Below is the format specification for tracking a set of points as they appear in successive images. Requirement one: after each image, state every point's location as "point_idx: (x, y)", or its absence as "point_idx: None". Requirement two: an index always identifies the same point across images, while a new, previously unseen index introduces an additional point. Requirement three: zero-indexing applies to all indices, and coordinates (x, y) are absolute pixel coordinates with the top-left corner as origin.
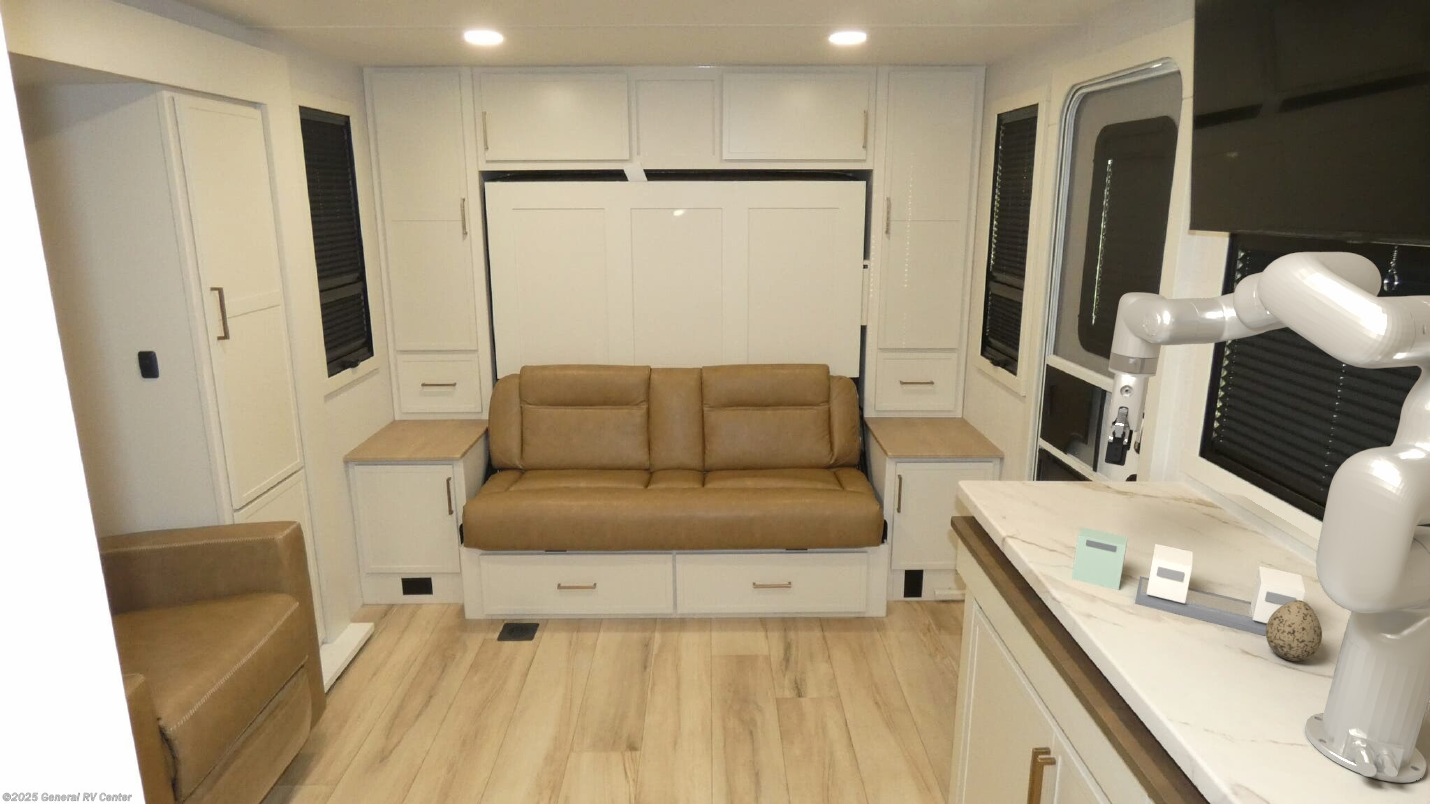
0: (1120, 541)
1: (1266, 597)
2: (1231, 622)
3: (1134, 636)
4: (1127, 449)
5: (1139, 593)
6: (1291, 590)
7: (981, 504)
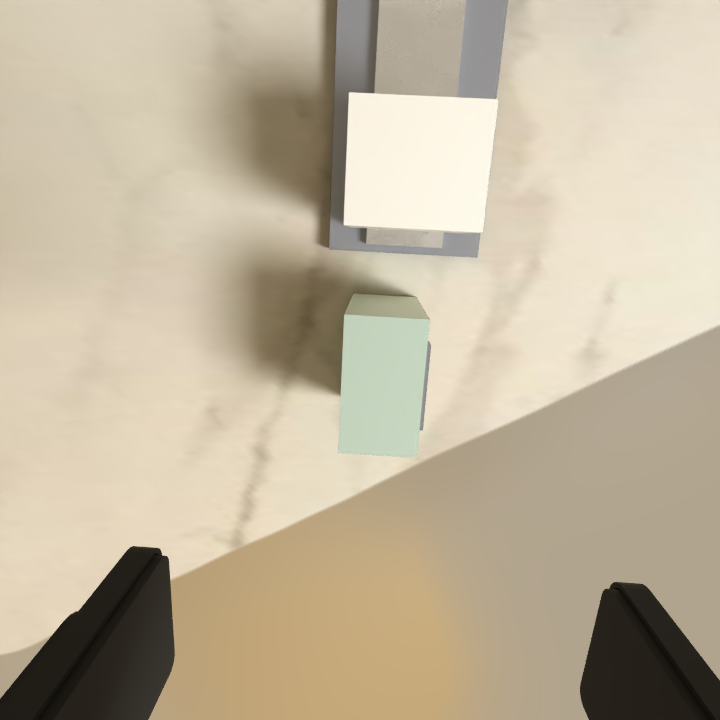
0: (401, 337)
1: None
2: (507, 4)
3: (656, 254)
4: (166, 566)
5: (442, 249)
6: None
7: None
